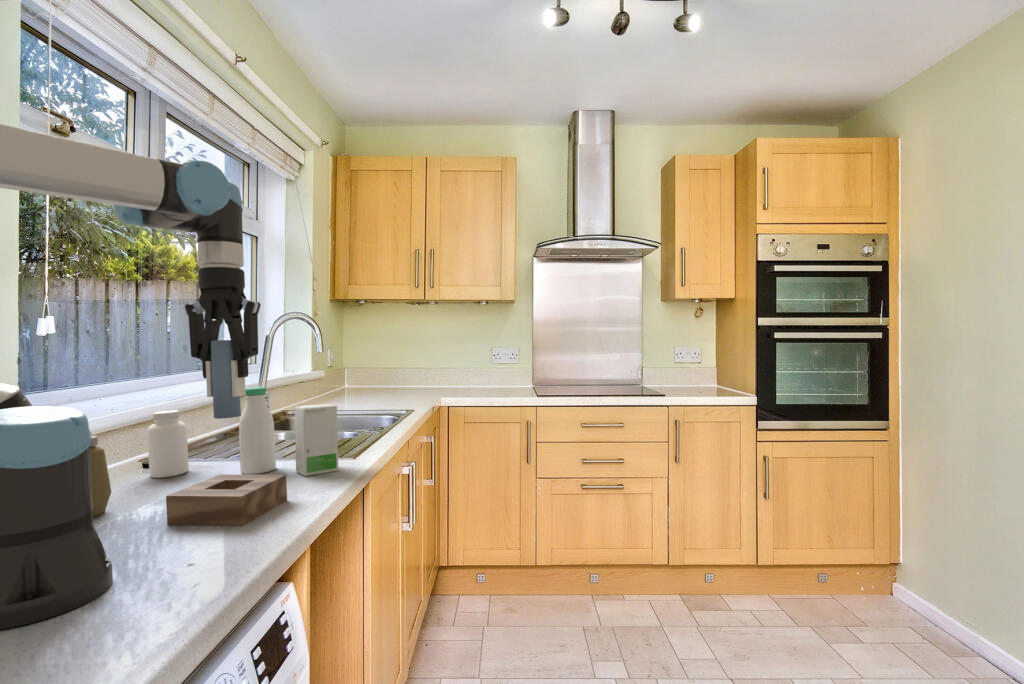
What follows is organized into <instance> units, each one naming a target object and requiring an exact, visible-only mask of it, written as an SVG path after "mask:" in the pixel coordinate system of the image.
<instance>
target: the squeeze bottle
mask: <svg viewBox="0 0 1024 684" xmlns="http://www.w3.org/2000/svg"><path fill="white" fill-rule="evenodd" d="M91 436H92V439H91V444H90V452H91V477H92V502H93V517H97V516H99V515H101V514H104V512H106V510H107V509H106V508H107V506H108V504H109V501H110V497H111V493H112V488H111V487H112V485H111V482H110V480H111V479H110V475H109V471H108V470H109V468H108V464H107V458H106V451H105V449H104V448H102V447H101V446H98V444H99V439H98V436H97V435H91Z"/></svg>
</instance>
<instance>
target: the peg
mask: <svg viewBox="0 0 1024 684" xmlns="http://www.w3.org/2000/svg"><path fill="white" fill-rule="evenodd" d="M233 357H235V355H234V351H233V347H232V343H231V339H225V340H224V339H223V340H222V339H221V340H219V339H218V340H217V341H211V363H212V386H213V397H212V405H213V406H212V407H213V418H214V419H215V420H217V419H220V420H221V419H232V418H238V417H239V418H240V417H241V415H242V410H241V409H242V408H241V407H242V405H241V396H237V397H232V373H231V361H233V360H234V359H233Z"/></svg>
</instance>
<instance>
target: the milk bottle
mask: <svg viewBox="0 0 1024 684" xmlns="http://www.w3.org/2000/svg"><path fill="white" fill-rule="evenodd" d="M245 392H246V395H244V399H245V405H244V408H243V411H242V412H241V416H240V417H239V423H238V436H239V437H238V438H239V439H238V442H239V465H240V466H239V467H240V473H241V475H261V474H265V473H269V472H272V471H274V470H275V469H276V466H277V462H276V461H277V459H276V457H277V456H276V438H275V437H276V435H275V422H274V418H273V415H272V412H271V410H270V409H269V407H268V405H267V402H266V396H267V395H266V394H267V389H266V387H261V386H258V387H257V386H256V387H247V388H245Z"/></svg>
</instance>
